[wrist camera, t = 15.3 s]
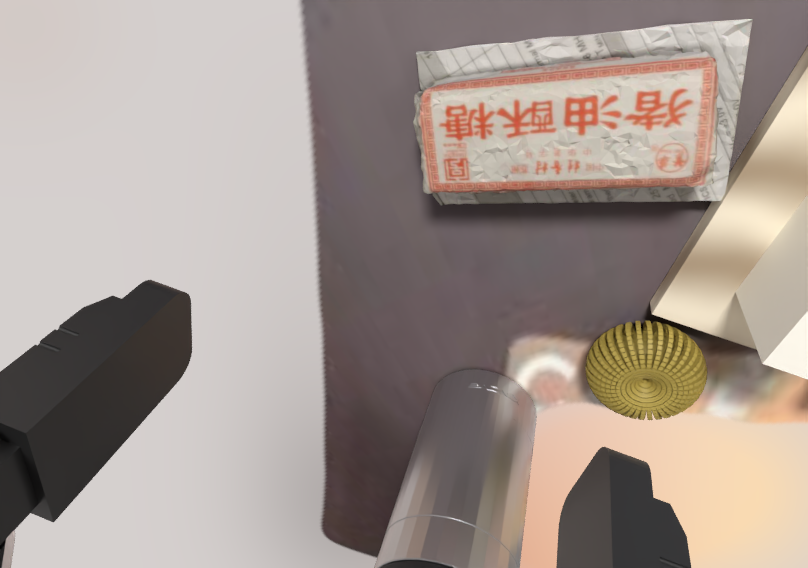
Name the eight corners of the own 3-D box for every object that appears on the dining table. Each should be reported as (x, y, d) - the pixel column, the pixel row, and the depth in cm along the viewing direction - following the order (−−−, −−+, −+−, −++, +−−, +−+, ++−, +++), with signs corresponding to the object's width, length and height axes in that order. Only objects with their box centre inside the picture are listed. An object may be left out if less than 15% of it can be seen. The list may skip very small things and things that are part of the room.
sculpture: (583, 425, 42) (587, 340, 37) (583, 388, 45) (587, 306, 41) (702, 438, 39) (721, 349, 35) (693, 397, 43) (710, 312, 38)
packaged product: (420, 228, 36) (397, 65, 31) (436, 197, 40) (419, 48, 35) (738, 226, 30) (774, 28, 25) (721, 191, 34) (750, 13, 29)
